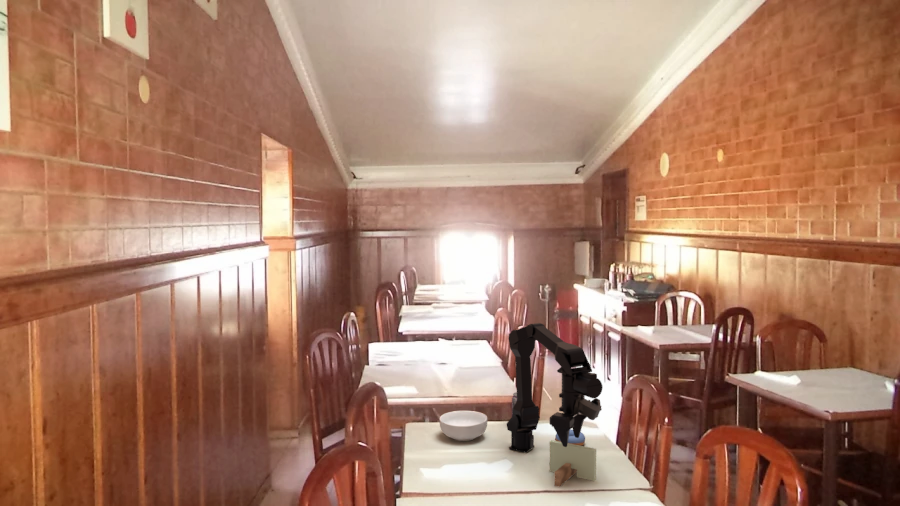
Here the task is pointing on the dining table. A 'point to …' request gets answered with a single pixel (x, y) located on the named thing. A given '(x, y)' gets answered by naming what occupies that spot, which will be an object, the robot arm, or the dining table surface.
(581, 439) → the doughnut
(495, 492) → the dining table surface
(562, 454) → the upright grey panel
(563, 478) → the notched wooden bar
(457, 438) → the cereal bowl
